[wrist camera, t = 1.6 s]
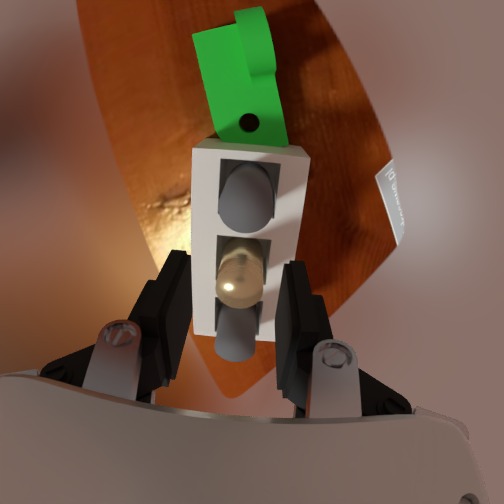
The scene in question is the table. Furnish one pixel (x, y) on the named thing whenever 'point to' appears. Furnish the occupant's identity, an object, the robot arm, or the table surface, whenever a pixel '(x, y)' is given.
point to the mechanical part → (242, 79)
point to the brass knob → (240, 273)
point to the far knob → (236, 333)
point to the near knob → (246, 199)
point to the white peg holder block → (217, 233)
